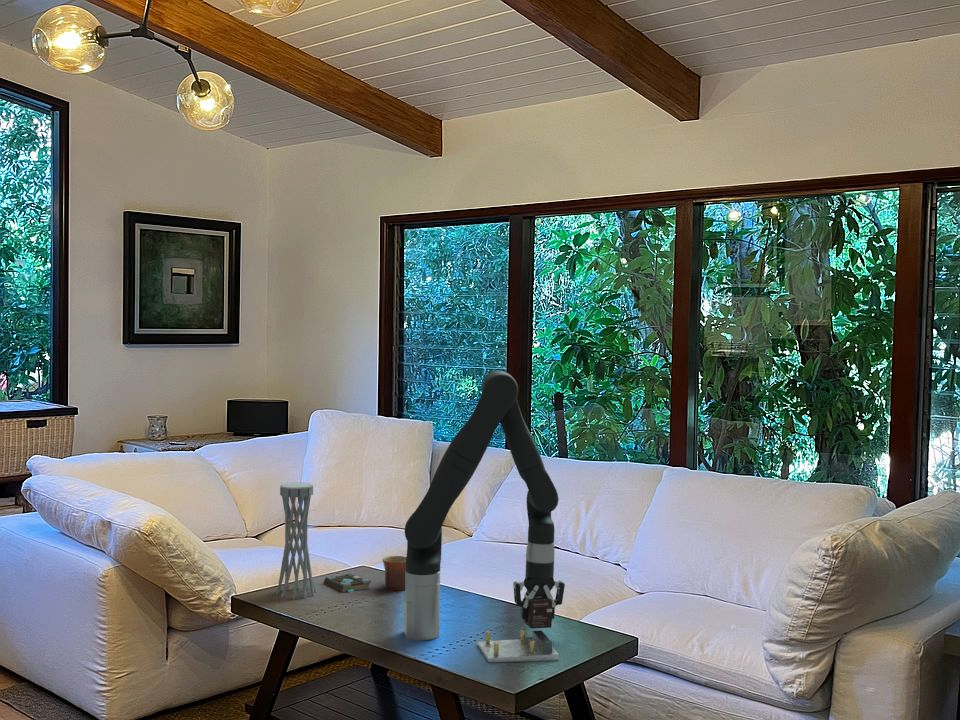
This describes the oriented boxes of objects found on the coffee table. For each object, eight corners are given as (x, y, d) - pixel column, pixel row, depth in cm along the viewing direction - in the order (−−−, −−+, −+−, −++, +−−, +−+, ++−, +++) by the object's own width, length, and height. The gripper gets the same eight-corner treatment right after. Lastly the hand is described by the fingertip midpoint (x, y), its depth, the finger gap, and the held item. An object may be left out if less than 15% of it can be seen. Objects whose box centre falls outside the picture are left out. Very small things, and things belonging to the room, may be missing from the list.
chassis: (488, 664, 237) (488, 646, 237) (477, 647, 250) (477, 630, 249) (558, 660, 241) (558, 642, 240) (544, 643, 253) (544, 626, 253)
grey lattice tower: (306, 608, 282) (306, 489, 281) (264, 604, 286) (265, 487, 285) (325, 596, 295) (326, 482, 294) (286, 592, 299) (286, 480, 298)
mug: (411, 594, 298) (412, 562, 298) (383, 596, 297) (383, 562, 296) (407, 584, 310) (407, 553, 310) (380, 585, 308) (380, 553, 308)
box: (530, 629, 254) (531, 601, 254) (522, 622, 260) (523, 595, 260) (551, 628, 256) (553, 600, 256) (544, 621, 262) (545, 594, 262)
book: (385, 597, 297) (385, 581, 296) (349, 603, 289) (350, 587, 289) (353, 583, 313) (353, 567, 312) (319, 588, 305) (319, 573, 305)
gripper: (517, 562, 252) (515, 625, 253) (570, 561, 255) (567, 624, 256) (510, 555, 259) (508, 617, 260) (561, 554, 263) (559, 615, 263)
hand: (537, 620), depth 258 cm, fingers closed on box, 6 cm apart
